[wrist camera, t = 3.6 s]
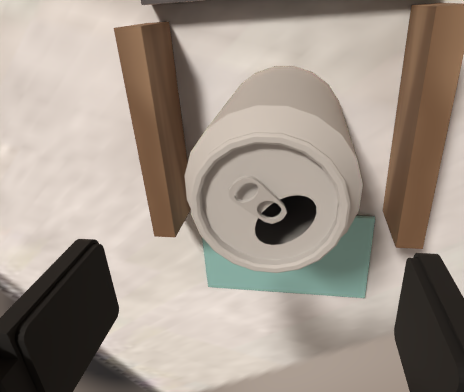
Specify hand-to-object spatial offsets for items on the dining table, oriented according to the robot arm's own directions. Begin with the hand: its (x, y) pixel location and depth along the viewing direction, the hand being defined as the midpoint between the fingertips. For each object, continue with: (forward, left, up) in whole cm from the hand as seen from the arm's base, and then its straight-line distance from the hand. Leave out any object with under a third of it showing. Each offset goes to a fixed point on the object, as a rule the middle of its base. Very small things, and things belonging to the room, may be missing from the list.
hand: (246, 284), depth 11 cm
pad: (0, +10, -15) cm, 19 cm away
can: (0, -1, -16) cm, 16 cm away
